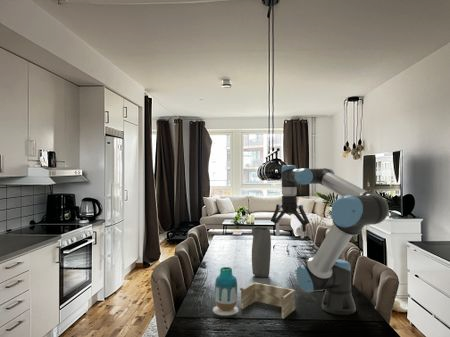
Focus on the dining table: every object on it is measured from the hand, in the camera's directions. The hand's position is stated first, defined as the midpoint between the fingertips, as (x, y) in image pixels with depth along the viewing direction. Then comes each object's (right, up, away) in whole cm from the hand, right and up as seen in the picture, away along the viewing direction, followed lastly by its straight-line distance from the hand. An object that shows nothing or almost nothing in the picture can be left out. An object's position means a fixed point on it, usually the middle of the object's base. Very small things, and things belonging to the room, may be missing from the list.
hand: (289, 236), depth 177 cm
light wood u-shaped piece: (-13, -32, -13) cm, 37 cm away
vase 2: (-10, -33, +41) cm, 53 cm away
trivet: (-33, -32, -14) cm, 48 cm away
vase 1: (-33, -31, -14) cm, 47 cm away
